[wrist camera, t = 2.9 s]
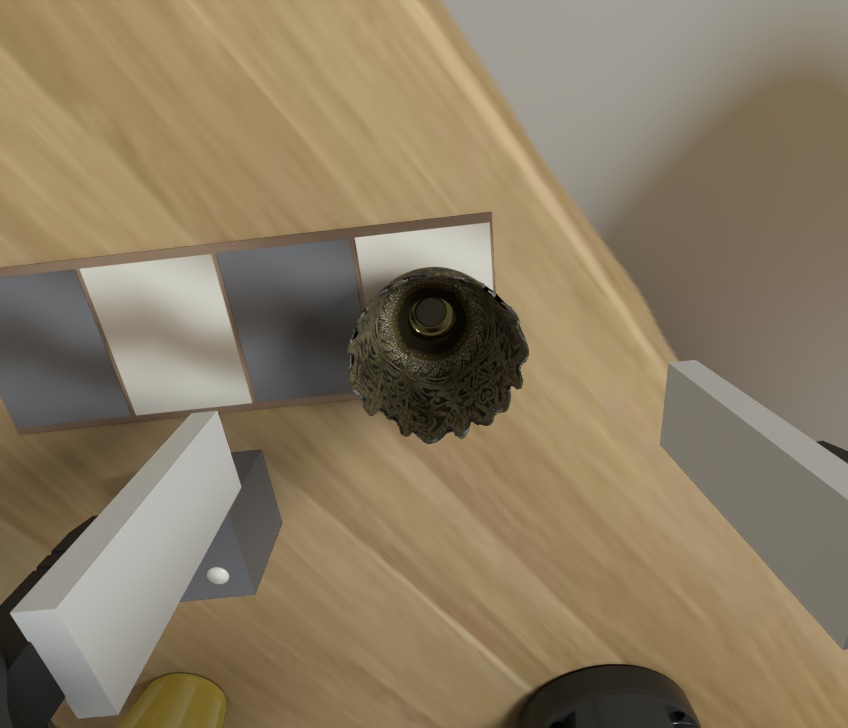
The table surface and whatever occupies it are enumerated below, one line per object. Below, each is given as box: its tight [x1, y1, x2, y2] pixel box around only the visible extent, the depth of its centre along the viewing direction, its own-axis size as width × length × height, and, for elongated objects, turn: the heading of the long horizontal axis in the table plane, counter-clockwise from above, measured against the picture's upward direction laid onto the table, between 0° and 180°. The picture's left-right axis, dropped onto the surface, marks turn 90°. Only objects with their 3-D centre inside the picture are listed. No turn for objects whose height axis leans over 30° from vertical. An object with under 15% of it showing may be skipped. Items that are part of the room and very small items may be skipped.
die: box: [180, 450, 282, 602], centre depth 28 cm, size 6×6×6 cm
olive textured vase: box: [347, 267, 529, 444], centre depth 23 cm, size 8×7×8 cm
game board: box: [0, 212, 496, 434], centre depth 27 cm, size 10×30×1 cm, turn 96°
